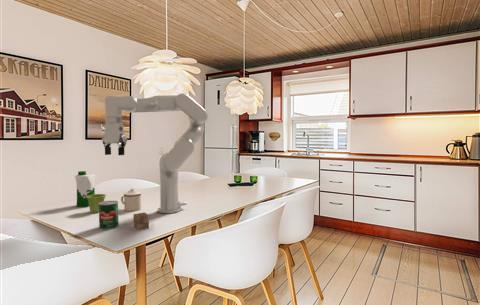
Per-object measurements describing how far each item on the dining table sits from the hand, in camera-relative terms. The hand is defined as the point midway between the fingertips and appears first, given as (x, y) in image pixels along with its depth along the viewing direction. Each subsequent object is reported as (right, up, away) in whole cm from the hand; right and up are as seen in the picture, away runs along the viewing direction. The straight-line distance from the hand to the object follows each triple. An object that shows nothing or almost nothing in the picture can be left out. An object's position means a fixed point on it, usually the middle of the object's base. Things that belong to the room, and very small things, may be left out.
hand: (114, 154), depth 142 cm
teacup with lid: (+2, -31, +14) cm, 34 cm away
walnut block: (+20, -32, -18) cm, 42 cm away
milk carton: (-27, -30, +23) cm, 47 cm away
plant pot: (-14, -31, +9) cm, 35 cm away
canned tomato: (+5, -32, -17) cm, 37 cm away
